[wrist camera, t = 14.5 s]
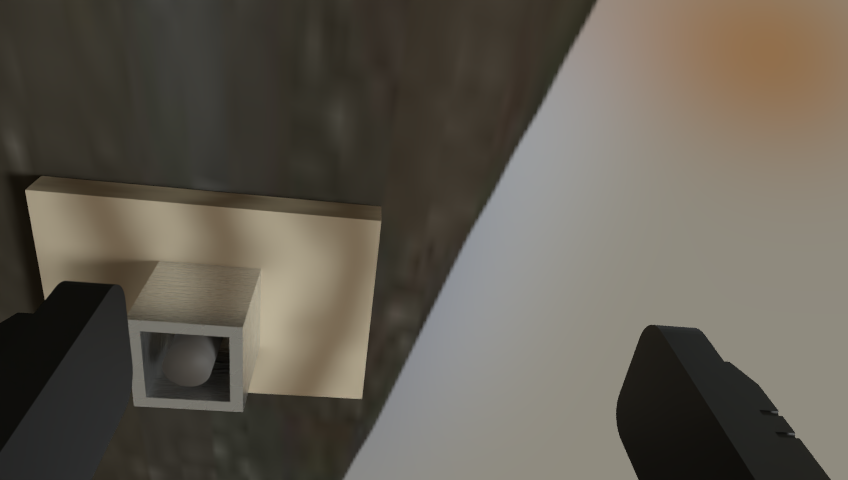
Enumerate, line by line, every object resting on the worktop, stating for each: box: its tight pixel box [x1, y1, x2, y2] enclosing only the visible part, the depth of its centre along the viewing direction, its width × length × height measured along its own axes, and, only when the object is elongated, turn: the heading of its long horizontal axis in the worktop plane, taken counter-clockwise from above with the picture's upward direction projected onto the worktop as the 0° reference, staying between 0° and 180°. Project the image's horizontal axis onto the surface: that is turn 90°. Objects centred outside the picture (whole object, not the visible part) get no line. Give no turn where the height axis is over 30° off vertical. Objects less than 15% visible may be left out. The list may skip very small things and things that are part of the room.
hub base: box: [25, 176, 381, 399], centre depth 39 cm, size 20×14×8 cm
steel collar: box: [127, 261, 261, 412], centre depth 38 cm, size 6×6×6 cm
